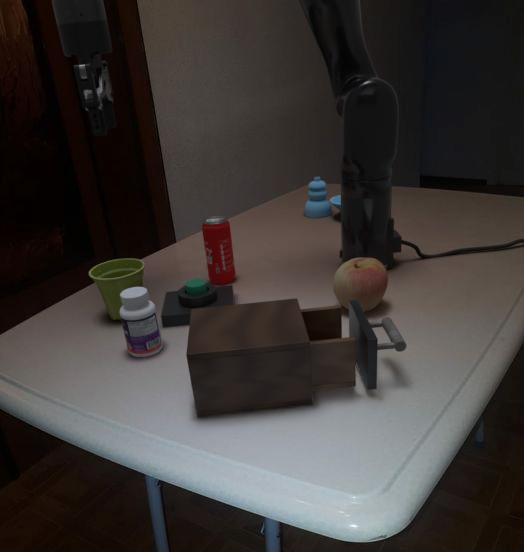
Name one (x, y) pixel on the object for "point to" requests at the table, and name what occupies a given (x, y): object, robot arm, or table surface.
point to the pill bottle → (140, 322)
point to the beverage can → (218, 249)
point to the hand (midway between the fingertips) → (105, 132)
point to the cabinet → (249, 357)
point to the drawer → (346, 346)
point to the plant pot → (117, 281)
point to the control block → (193, 303)
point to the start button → (196, 287)
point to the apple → (360, 282)
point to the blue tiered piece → (320, 200)
